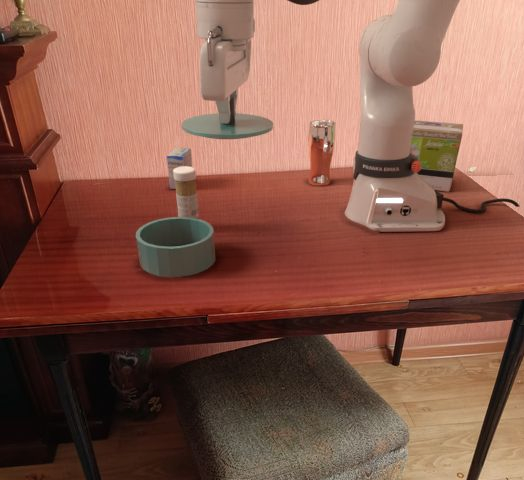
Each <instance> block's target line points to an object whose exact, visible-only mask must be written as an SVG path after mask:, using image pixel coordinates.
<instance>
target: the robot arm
mask: <svg viewBox="0 0 524 480" xmlns="http://www.w3.org/2000/svg"><path fill="white" fill-rule="evenodd" d="M286 1H287V2H289V3H293V4H295V5H300V6H308V5H312V4H315V3H317V2H319V1H320V0H286ZM460 1H461V0H397V4H396V6H395V9H394V11H393V13H392V14H386V15H382V16H379V17H376V19H374V20H372V21H371V22H370V23H368V25H366V27H365V28H364V29H363V31H362V33H361V35H360V37H359V42H358V53H359V86H360V87H359V88H360V91H359V92H360V119H359V120H360V122H359V130H358V131H359V132H358V143H357V150H356V151H355V155H354V158H353V168H352V176H353V177H352V178H353V182H352V187H351V192H350V196H349V199H348V201H347V204H346V205H347V206H346V209H345V210H344V215H345V217H346V218H347V219H348V220H350V221H352V222H354V223H357V224H360V225H362V226H365V227H367V228H368V229H370V230H371V231H378V232H380V233H392V232H397V233H398V232H402V233H403V232H438V231H441V230H442V229H444V227H445V224H446V216H445V213H444V212H443V210H442V207H443V202H447V203H450V204H452V205H453V206H454V207H455V208H457V209H458V210H460V211H464V212H467V213H475V214H479V213H484V212H485V211H486V210H487V206H486V205H490V204H494V203H502V202H503V203H509V204H512V205H513V206H514V207H516V208H520V204H519V203H518V202H517V201H516V200H514V199H510V198H495V199H489V200H485V201H482V202H481V208H470V207H465V206H462V205H460V204H459V203H458V202H457V201H455V200H453V199H451V198H448V197H444V196H445V195H444V194H443V193H441V192H440V191H438V190H434V189H433V188H432V186H431V185H430V184H428V183H427V182H426V181H425V180H424V179H423V178H422V177H421V176H420V175H419V174H418V173H416V172H419V170H421V169H420V168H421V163H420V162H419V161H418V158H417V157H416V156H415V154H414V155H412V154H411V153H410V148H411V141H412V135H413V128H414V122H415V120H416V109H415V105H414V94H413V93H414V91H413V87H416V86H419V85H422V84H423V83H425V82H427V80H429V79H430V78H431V77H432V76H433V74H434V73H435V72H436V70H437V68H438V66H439V63H440V59H441V55H442V54H441V53H442V44H443V42H444V39H445V36H446V35H447V32H448V30H449V28H450V27H449V26H450V24H451V22H452V19H453V17H454V14H455V12H456V10H457V8H458V5H459V3H460ZM194 2H195V3H194V4H195V20H196V37H197V38H198V39H203V40H205V41H204V42H203V43H202V44H201V46H200V51H199V53H200V54H199V80H200V81H199V85H200V95H201V97H202V100H203V101H207V102H215V105H216V109H217V113H219V122H220V123H223V124H228V123H229V122H230V121H231V111H230V104H229V101H230V96H232V97H235V116H236V113H237V103H238V97H239V88H240V87H242V86H243V85H244V84H245V83H246V82H248V80H249V76H250V70H251V69H250V68H251V58H252V57H251V55H252V39H253V38H254V36H255V35H254V34H255V32H256V22H255V21H256V20H255V16H254V15H255V13H254V9H255V8H254V5H255V4H254V2H255V1H254V0H194Z"/></svg>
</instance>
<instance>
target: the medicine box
mask: <svg viewBox="0 0 524 480" xmlns="http://www.w3.org/2000/svg"><path fill="white" fill-rule="evenodd" d="M166 163H167V164H166V165H167V172H168V184H169V189H170V190H176V185H175V179H174V175H173V170H174V169H175V168H177V167H183V166H188V167H193V157H192V149H191V148H190V147H174V148H173V149H172V150H171V151H170V152H169V153H168V154H167V155H166Z"/></svg>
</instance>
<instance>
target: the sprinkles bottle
mask: <svg viewBox="0 0 524 480" xmlns="http://www.w3.org/2000/svg"><path fill="white" fill-rule="evenodd" d="M173 175H174V179H175V185H176V189H175V196H176V197H175V199H176V207H177V217H189V218H196V219H200V218H199V217H200V214H199V199H198V192H197V184H196V183H197V181H196V180H197V172H196V169H195V167H193V166H192V167H188V166H183V167H177V168H175V169H174V170H173Z"/></svg>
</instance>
